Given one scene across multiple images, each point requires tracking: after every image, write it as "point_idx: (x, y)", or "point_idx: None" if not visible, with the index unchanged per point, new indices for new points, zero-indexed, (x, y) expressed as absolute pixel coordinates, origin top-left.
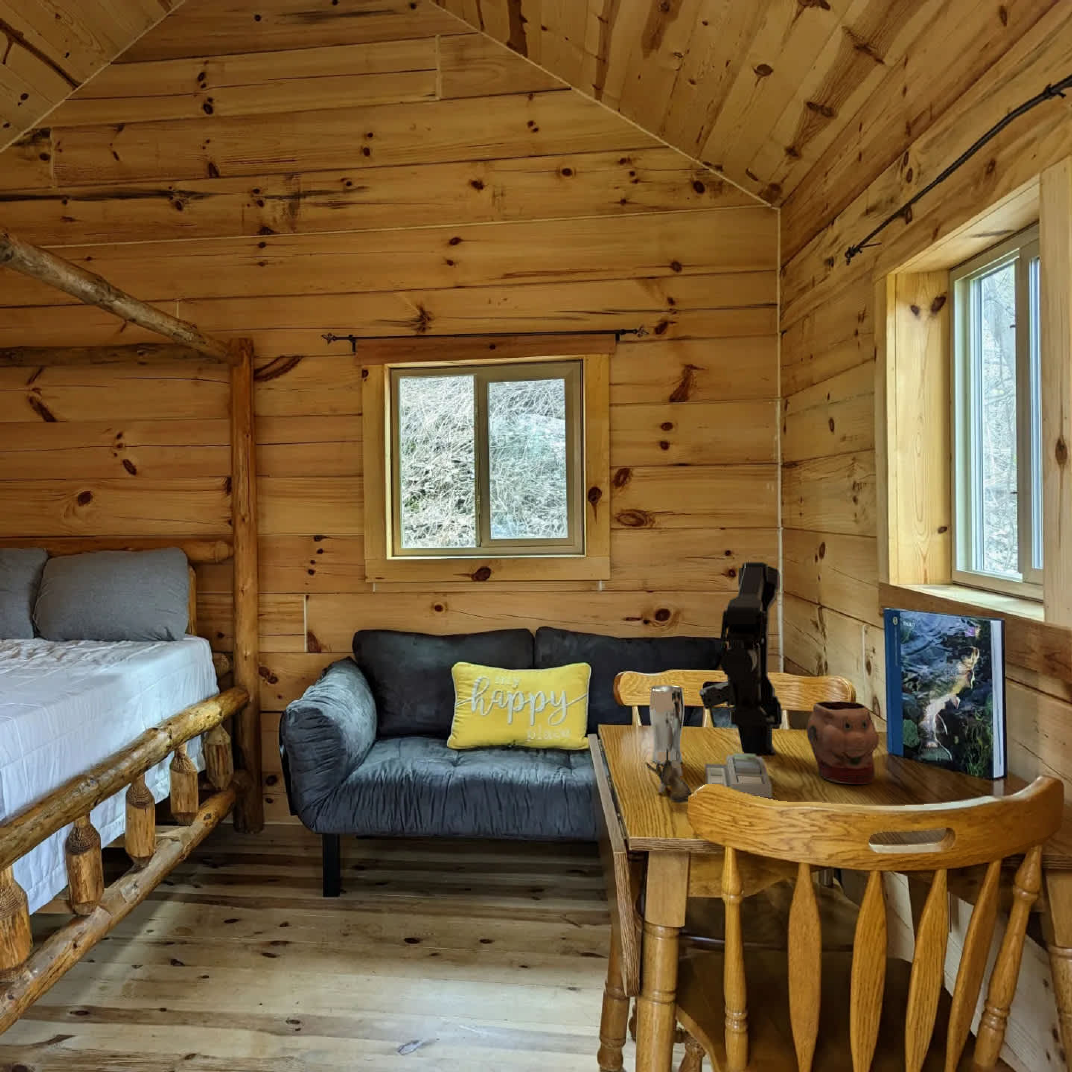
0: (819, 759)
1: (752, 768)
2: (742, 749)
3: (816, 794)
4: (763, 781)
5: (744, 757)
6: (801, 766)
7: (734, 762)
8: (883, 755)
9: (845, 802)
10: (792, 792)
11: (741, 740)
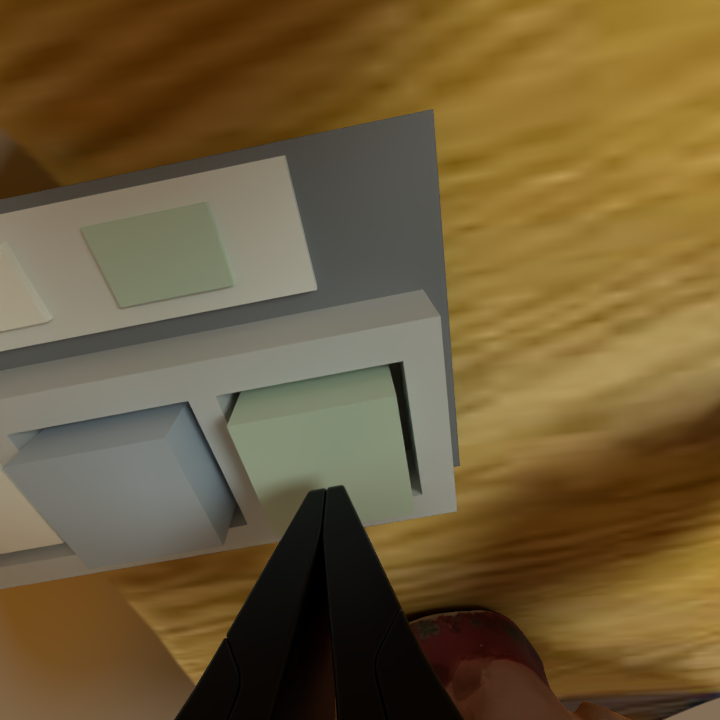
0: (453, 681)
1: (66, 538)
2: (300, 507)
3: (222, 612)
4: (34, 549)
5: (299, 472)
6: (564, 552)
7: (342, 373)
8: (702, 687)
9: (188, 663)
10: (199, 561)
11: (257, 593)
